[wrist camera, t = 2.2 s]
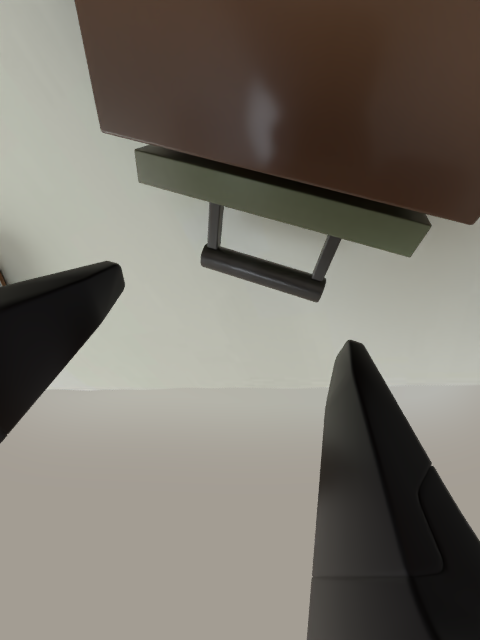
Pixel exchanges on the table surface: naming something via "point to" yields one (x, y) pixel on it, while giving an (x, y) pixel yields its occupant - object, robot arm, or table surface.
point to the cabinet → (301, 90)
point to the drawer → (279, 216)
